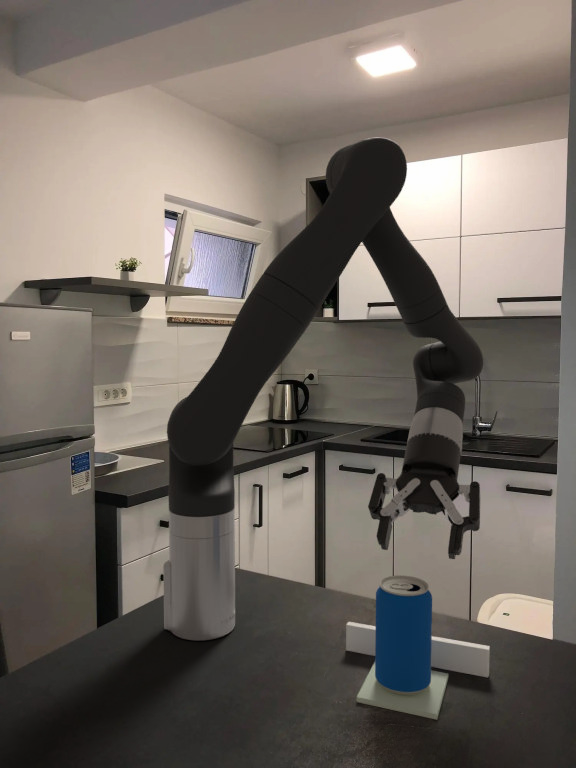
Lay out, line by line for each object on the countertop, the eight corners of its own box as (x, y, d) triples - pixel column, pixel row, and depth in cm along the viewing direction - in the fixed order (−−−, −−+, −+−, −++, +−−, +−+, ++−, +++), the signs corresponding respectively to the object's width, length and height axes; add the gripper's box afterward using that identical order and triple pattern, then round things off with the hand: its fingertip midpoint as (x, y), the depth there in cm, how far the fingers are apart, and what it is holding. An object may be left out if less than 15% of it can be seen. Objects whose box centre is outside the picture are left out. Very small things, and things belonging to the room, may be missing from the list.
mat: (356, 702, 72) (356, 696, 72) (375, 664, 80) (375, 659, 80) (437, 719, 68) (437, 714, 68) (448, 678, 77) (448, 673, 77)
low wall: (346, 650, 84) (346, 624, 83) (348, 646, 85) (348, 621, 84) (488, 677, 77) (488, 649, 77) (488, 673, 78) (489, 646, 78)
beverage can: (431, 701, 71) (433, 597, 70) (373, 695, 72) (374, 593, 71) (429, 671, 77) (431, 576, 76) (376, 666, 78) (377, 572, 77)
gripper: (380, 428, 90) (356, 530, 80) (485, 434, 84) (473, 544, 74) (388, 458, 95) (367, 557, 85) (487, 466, 90) (477, 573, 80)
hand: (417, 551), depth 80 cm, fingers open, 8 cm apart
